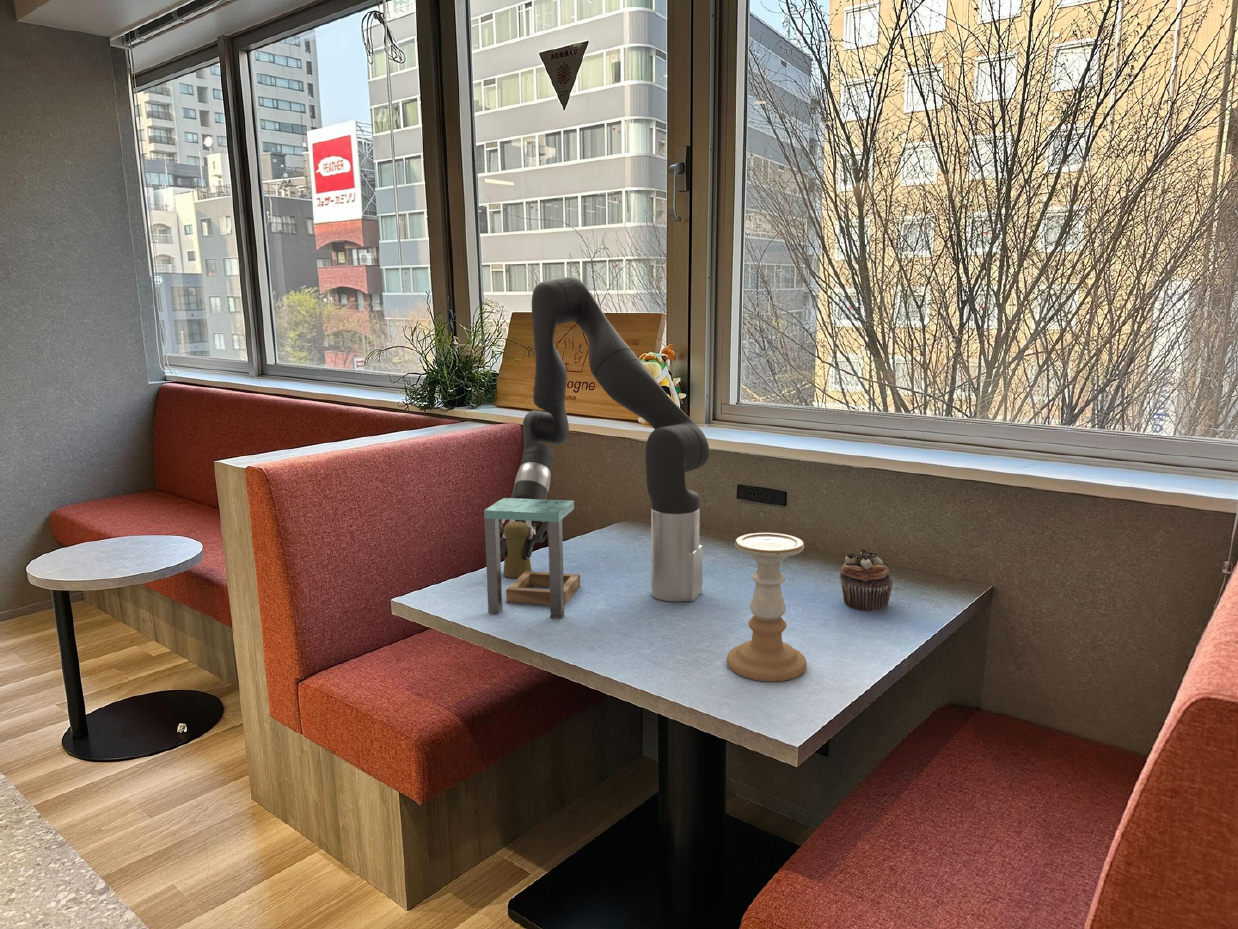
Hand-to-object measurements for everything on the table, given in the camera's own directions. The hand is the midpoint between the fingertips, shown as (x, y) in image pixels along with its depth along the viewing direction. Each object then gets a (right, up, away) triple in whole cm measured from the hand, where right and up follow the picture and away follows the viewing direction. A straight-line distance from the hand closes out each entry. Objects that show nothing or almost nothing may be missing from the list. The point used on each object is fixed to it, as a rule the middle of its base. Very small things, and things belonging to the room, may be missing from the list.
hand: (514, 557), depth 177 cm
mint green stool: (+5, -7, -16) cm, 19 cm away
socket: (+7, -6, -10) cm, 13 cm away
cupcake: (+68, -7, -17) cm, 70 cm away
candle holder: (+45, -12, -43) cm, 64 cm away
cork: (0, -4, +3) cm, 5 cm away
